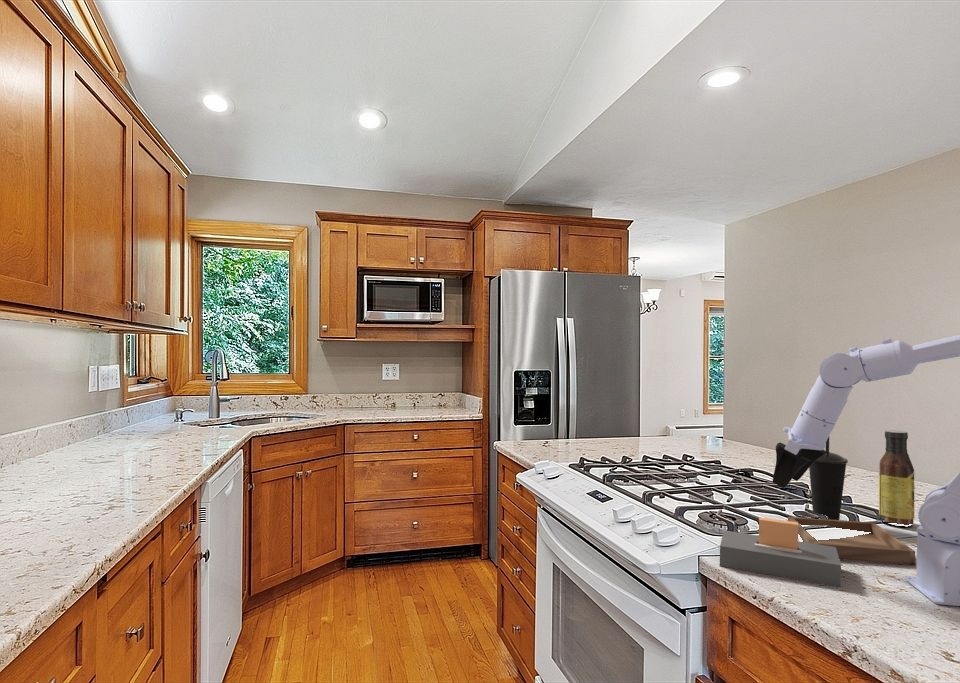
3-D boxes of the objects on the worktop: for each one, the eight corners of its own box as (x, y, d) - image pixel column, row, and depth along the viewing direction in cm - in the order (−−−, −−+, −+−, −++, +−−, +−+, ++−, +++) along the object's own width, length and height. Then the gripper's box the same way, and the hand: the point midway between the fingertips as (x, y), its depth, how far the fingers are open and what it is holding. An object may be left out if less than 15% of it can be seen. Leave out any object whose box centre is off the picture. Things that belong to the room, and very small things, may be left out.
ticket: (796, 568, 101) (797, 522, 101) (797, 571, 100) (798, 524, 100) (758, 562, 104) (759, 517, 104) (758, 565, 103) (759, 519, 102)
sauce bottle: (920, 529, 122) (922, 434, 122) (886, 527, 123) (888, 433, 123) (904, 519, 128) (906, 429, 128) (872, 517, 130) (874, 428, 129)
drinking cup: (798, 517, 130) (799, 427, 129) (820, 513, 133) (822, 425, 132) (831, 527, 123) (833, 432, 122) (854, 523, 126) (856, 430, 125)
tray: (914, 565, 103) (915, 551, 103) (815, 557, 106) (815, 543, 106) (873, 534, 119) (873, 522, 119) (787, 528, 122) (787, 516, 122)
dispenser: (835, 567, 102) (835, 545, 102) (840, 586, 94) (841, 563, 94) (723, 548, 110) (723, 528, 110) (719, 565, 102) (720, 544, 102)
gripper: (807, 402, 112) (777, 464, 116) (782, 408, 102) (750, 475, 105) (846, 420, 107) (813, 483, 111) (824, 428, 97) (789, 497, 101)
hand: (785, 481), depth 108 cm, fingers open, 7 cm apart
